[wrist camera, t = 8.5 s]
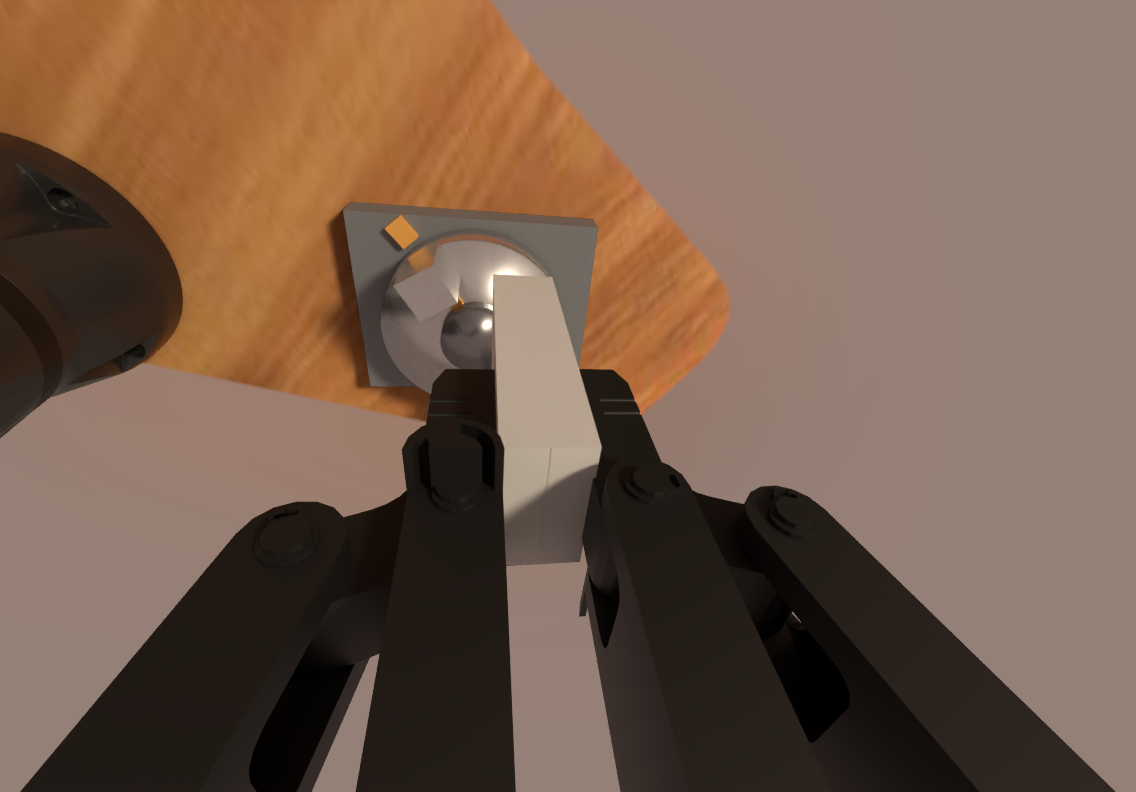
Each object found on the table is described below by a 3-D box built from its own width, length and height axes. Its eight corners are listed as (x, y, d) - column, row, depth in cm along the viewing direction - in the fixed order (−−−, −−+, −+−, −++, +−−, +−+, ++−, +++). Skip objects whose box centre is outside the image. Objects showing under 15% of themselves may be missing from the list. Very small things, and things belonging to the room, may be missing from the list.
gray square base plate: (375, 372, 38) (368, 390, 36) (350, 201, 31) (340, 212, 29) (572, 374, 41) (577, 392, 39) (592, 219, 34) (600, 230, 32)
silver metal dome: (505, 406, 39) (508, 463, 34) (359, 339, 34) (335, 394, 29) (592, 288, 34) (613, 333, 29) (437, 189, 29) (426, 221, 24)
